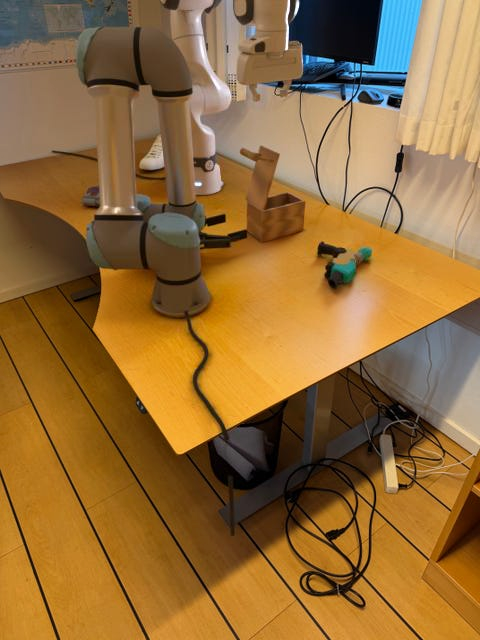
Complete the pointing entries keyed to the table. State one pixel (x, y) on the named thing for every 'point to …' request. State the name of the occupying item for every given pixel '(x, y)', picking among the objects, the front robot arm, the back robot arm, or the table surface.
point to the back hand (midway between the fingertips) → (270, 99)
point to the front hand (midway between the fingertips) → (235, 225)
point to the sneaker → (153, 157)
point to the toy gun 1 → (92, 197)
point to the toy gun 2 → (342, 263)
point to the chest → (276, 217)
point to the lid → (261, 175)
